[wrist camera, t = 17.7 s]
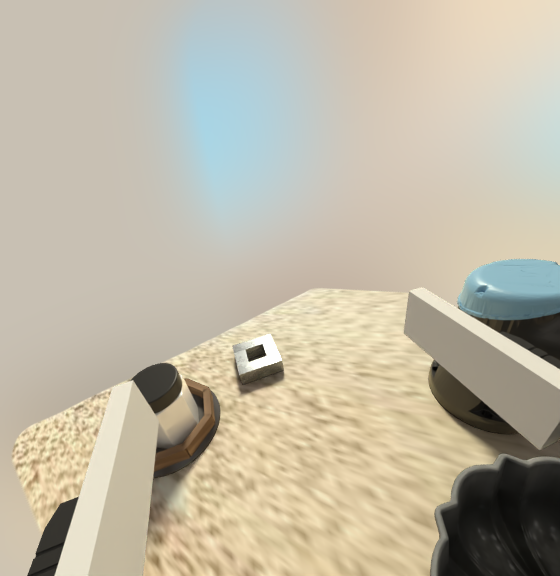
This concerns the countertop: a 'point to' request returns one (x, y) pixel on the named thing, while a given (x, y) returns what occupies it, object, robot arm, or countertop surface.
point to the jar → (168, 403)
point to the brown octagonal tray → (198, 438)
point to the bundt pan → (501, 520)
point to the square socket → (258, 366)
